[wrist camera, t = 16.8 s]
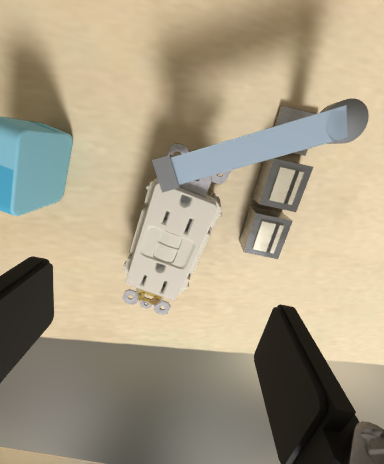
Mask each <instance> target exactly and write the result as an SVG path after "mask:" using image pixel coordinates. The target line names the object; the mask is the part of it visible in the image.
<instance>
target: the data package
mask: <svg viewBox="0 0 384 464" xmlns="http://www.w3.org/2000/svg"><path fill="white" fill-rule="evenodd" d="M72 143H73V141H72V137H71V135H70V134H69V133H66V132H64V131H61V130H59V129H56V128H54V127H51V126H48V125H46V124H43V123H37V122H31V121H25V120H19V119H13V118H7V117H0V211H3V212H6V213H9V214H11V215H14V216H20V215H23V214H26V213H28V212H31V211H34V210H37V209H39V208H42V207H45V206H47V205H50V204H53V203H56V202H58V201H60V200H61V198H62V197H63V194H64V190H65V184H66V178H67V172H68V166H69V161H70V155H71V149H72Z"/></svg>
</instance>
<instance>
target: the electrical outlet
mask: <svg viewBox="0 0 384 464" xmlns="http://www.w3.org/2000/svg"><path fill="white" fill-rule="evenodd" d="M177 151H178V152H180V153H181V154H185V153H188V152H189V151H188V149H187V147H186V146H184V145H181V144H179V143H176V144H174V145H172V146H170V149H169V152H168V155H172V154H173V157H174V153H175V152H177ZM168 155H167V156H168ZM230 171H231V170H230ZM230 171H226V172H224V174H223V175H222V176H217V175H212V176H209V177H205V178H201V179H199V180H198V181H196V180H194V181H191V182H187V183H184V184H181V186H180V187H179V188H177V189H174V190H170V191H166V192H163V193H162V191H161V188H160V184H159V181H158V178H157V177H156V178H155V179H154V180H153V181H152V182H151V183H150V185H148V186H147V187H146V189H147V190H148V192H147V195H146V198H145V205H144V208H143V209H142V212H141V215H140V219H139V222H138V225H137V229H136V232H135V235H134V239H133V242H132V245H131V249H130V255H129V257H128V259H127V261H126V262H125V263H124V265H123V266H124V267H125V269H124V270H125V272H126V274H127V279H126V284H127V285H130V286H133V287H136V288H137V289H136V291H133V290H130V289H129V290H126V291H125V292H124V295H123V300H124V301H125V302H126V303H129V304H132V305H133V304H136V303H137V301H138V300H139V301H141V302H140V304H141V306H142V307H144V308H150V307H151V306H152V305H155V306H154V310H155V312H156V313H159V314H162V315H164V314H167V313H168V311H169V309H170V304H169V303H168V302H166V301H163V298H164V297H165V298H168V299H171V300H175V299H176V298H177V296H178V294H179V293H181V292H183V291H185V289H186V288H188V287H189V280H190V276H191V274H193V272H194V269H195V267H196V265H197V263H198V261H199V259H200V256H201V254H202V252H203V250H204V248H205V246H206V243H207V241H208V239H209V237H210V232H211V230H212V228H214V226H215V224H216V222H217V219H218V217H221V216H222V215H221V210H222V209H221V204H220V199H219V197H217V196H216V195H215V193H214V194H212V195H210V194H209V193H208V189H209V187H210V184H211V182H214V183H217V184H219V185H220V184H222V183H224V182H226V180H227V178H228V176H229V174H230ZM145 293H146V294H147V295H150V296H153V295H154V298H153V299H149V298H146V297H144V294H145ZM128 295H132V296H133V299H130V298H128ZM144 303H147V304H148V305H145V304H144ZM160 306H164V307H165V309H161V308H160Z"/></svg>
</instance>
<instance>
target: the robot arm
mask: <svg viewBox="0 0 384 464" xmlns="http://www.w3.org/2000/svg"><path fill="white" fill-rule="evenodd" d="M53 317H54V298H53V266H52V264H50V263H49V261H48V260H47V259H44V258H38V257H29V258H28V259H26V260H25V261H23V262H21V263H20V264H18V265H17V266H15V267H14V268H12V269H10V270H9V271H7V272H6V273H4V274H3V275H1V276H0V383H1V382H2V380H3V379H4V378H5V377H6V375H7V374H8V373H9V372H10V371H11V370H12V368H13V367H14V366H15V365H16V364H17V363H18V362H19V360H20V359H21V358H22V357H23V356H24V355H25V353H26V352H27V351H28V350H29V349H30V347H31V346H32V345H33V344H34V343H35V342H36V340H37V339H38V338H39V337H40V336H41V335H42V333H43V332H44V331H45V330H46V329H47V328H48V326H49V325H50V324H51V322H52V320H53ZM254 362H255V366H256V370H257V374H258V378H259V382H260V386H261V390H262V394H263V398H264V402H265V406H266V410H267V414H268V417H269V422H270V426H271V430H272V434H273V438H274V442H275V446H276V450H277V454H278V458H279V461H280V463H281V464H384V429H382V428H381V427H379V426H377V425H375V424H372V423H370V422H359V421H358V419H357V417H356V416H355V413H356V411H355V410H354V408H353V406H352V405H351V403H350V401H349V400H348V398H347V396H346V395H345V393H344V391H343V389H342V388H341V386H340V384H339V382H338V381H337V379H336V377H335V376H334V374H333V372H332V371H331V369H330V367H329V365H328V364H327V362H326V360H325V359H324V357H323V355H322V353H321V352H320V350H319V348H318V347H317V345H316V343H315V342H314V340H313V338H312V336H311V335H310V333H309V331H308V330H307V328H306V326H305V324H304V323H303V321H302V319H301V318H300V316H299V314H298V313H297V311H296V309H295V308H294V307H290V306H285V305H278V307H274V308H273V310H272V312H271V315H270V317H269V320H268V322H267V325H266V327H265V329H264V332H263V334H262V337H261V339H260V341H259V344H258V346H257V349H256V351H255V354H254ZM0 464H104V463H97V462H91V461H84V460H79V459H72V458H66V457H60V456H54V455H48V454H41V453H35V452H28V451H21V450H15V449H9V448H3V447H0Z"/></svg>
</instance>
